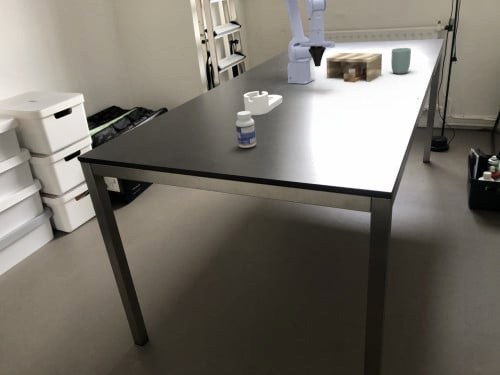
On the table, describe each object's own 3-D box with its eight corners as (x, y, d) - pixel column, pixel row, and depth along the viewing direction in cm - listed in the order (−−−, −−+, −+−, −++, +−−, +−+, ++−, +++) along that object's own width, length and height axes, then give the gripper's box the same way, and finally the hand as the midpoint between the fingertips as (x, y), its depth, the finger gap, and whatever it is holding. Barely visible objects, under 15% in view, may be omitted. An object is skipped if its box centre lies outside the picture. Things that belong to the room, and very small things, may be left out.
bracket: (263, 116, 156) (261, 97, 153) (241, 115, 159) (239, 97, 157) (285, 101, 171) (284, 83, 168) (265, 100, 175) (263, 83, 172)
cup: (410, 74, 188) (412, 50, 184) (391, 75, 190) (392, 51, 186) (408, 70, 195) (409, 47, 191) (390, 71, 197) (391, 48, 193)
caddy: (343, 82, 188) (343, 68, 186) (357, 76, 196) (357, 62, 194) (354, 82, 185) (354, 69, 183) (367, 76, 193) (367, 63, 191)
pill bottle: (237, 142, 133) (234, 111, 129) (255, 140, 133) (252, 109, 129) (238, 149, 128) (235, 116, 124) (257, 146, 128) (254, 114, 124)
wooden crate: (326, 79, 196) (326, 58, 192) (340, 73, 204) (339, 52, 200) (369, 81, 184) (369, 59, 180) (381, 75, 192) (381, 53, 188)
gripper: (294, 31, 170) (296, 67, 176) (328, 31, 162) (328, 69, 168) (304, 29, 175) (306, 63, 181) (337, 28, 166) (337, 65, 172)
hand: (317, 66), depth 175 cm, fingers closed
